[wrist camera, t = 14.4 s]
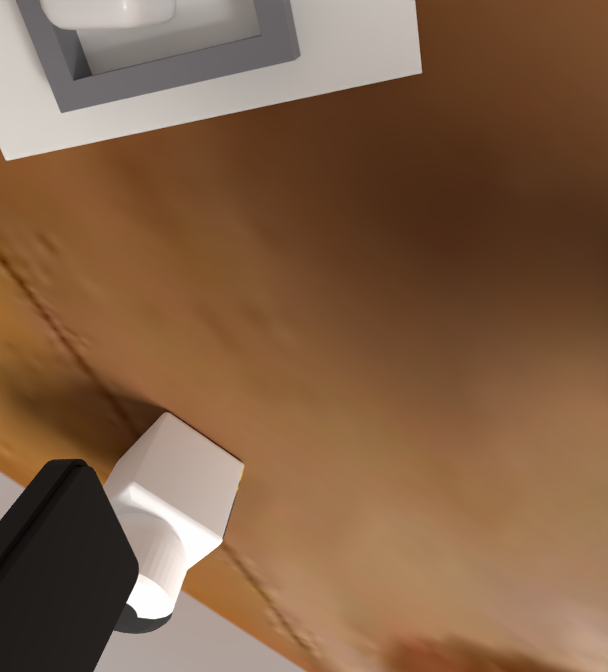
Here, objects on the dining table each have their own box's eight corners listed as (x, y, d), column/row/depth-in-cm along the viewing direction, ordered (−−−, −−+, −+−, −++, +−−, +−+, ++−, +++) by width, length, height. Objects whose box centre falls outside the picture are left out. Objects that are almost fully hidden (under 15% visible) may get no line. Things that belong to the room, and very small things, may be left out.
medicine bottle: (193, 509, 45) (137, 662, 35) (117, 460, 43) (33, 606, 33) (247, 463, 41) (202, 617, 31) (167, 408, 40) (91, 552, 29)
